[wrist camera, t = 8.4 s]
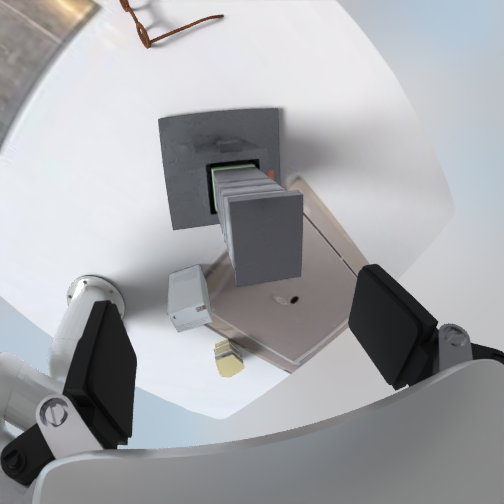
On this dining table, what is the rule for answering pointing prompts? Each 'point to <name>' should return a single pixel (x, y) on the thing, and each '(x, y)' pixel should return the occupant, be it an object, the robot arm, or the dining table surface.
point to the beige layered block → (228, 359)
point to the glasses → (148, 44)
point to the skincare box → (188, 299)
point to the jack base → (213, 156)
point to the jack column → (257, 223)
